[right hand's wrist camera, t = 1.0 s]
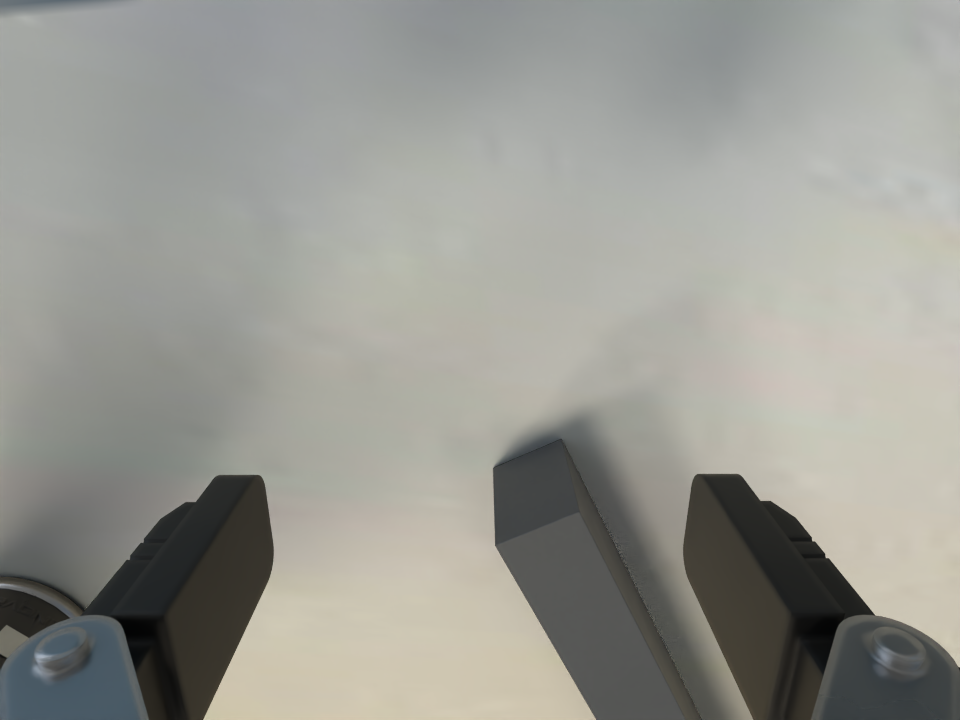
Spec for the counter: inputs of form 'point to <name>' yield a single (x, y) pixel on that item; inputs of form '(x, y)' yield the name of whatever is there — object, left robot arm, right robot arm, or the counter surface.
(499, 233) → the counter surface
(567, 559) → the beam
